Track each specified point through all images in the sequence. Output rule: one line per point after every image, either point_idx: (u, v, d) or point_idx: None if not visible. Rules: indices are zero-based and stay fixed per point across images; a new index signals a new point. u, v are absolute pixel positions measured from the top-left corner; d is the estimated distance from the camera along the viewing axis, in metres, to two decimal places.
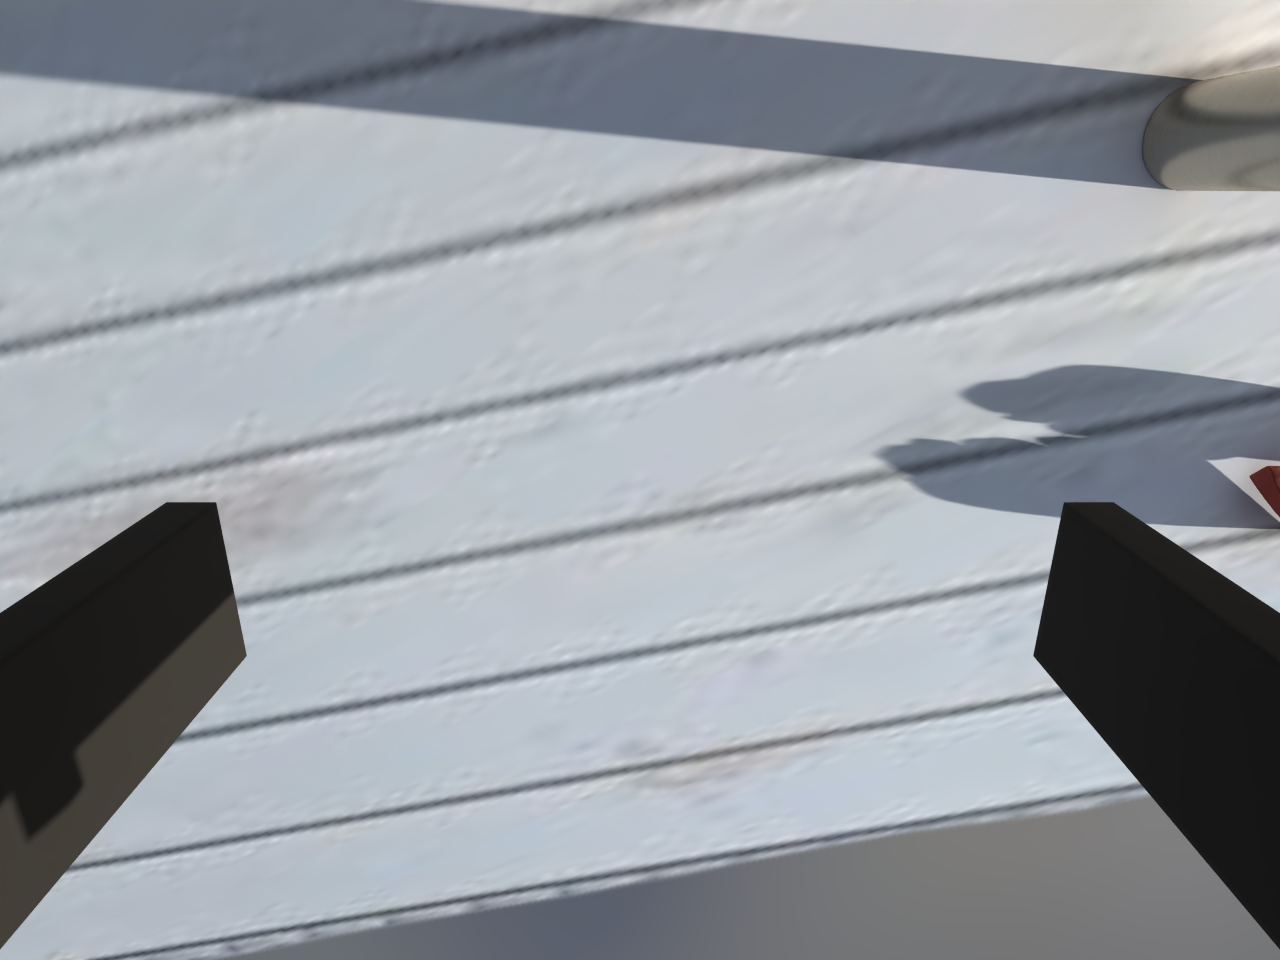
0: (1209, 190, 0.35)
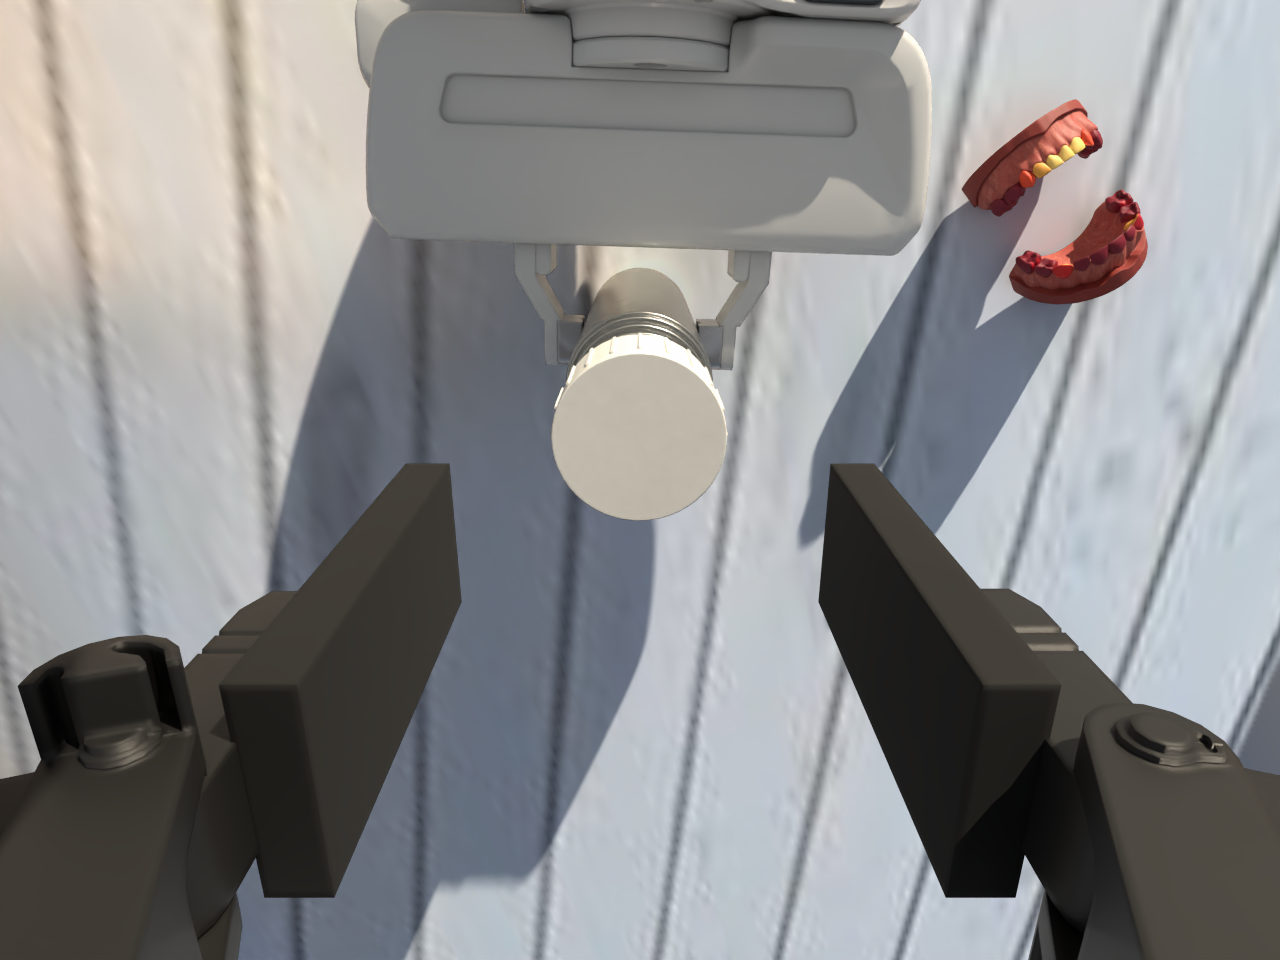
0: None
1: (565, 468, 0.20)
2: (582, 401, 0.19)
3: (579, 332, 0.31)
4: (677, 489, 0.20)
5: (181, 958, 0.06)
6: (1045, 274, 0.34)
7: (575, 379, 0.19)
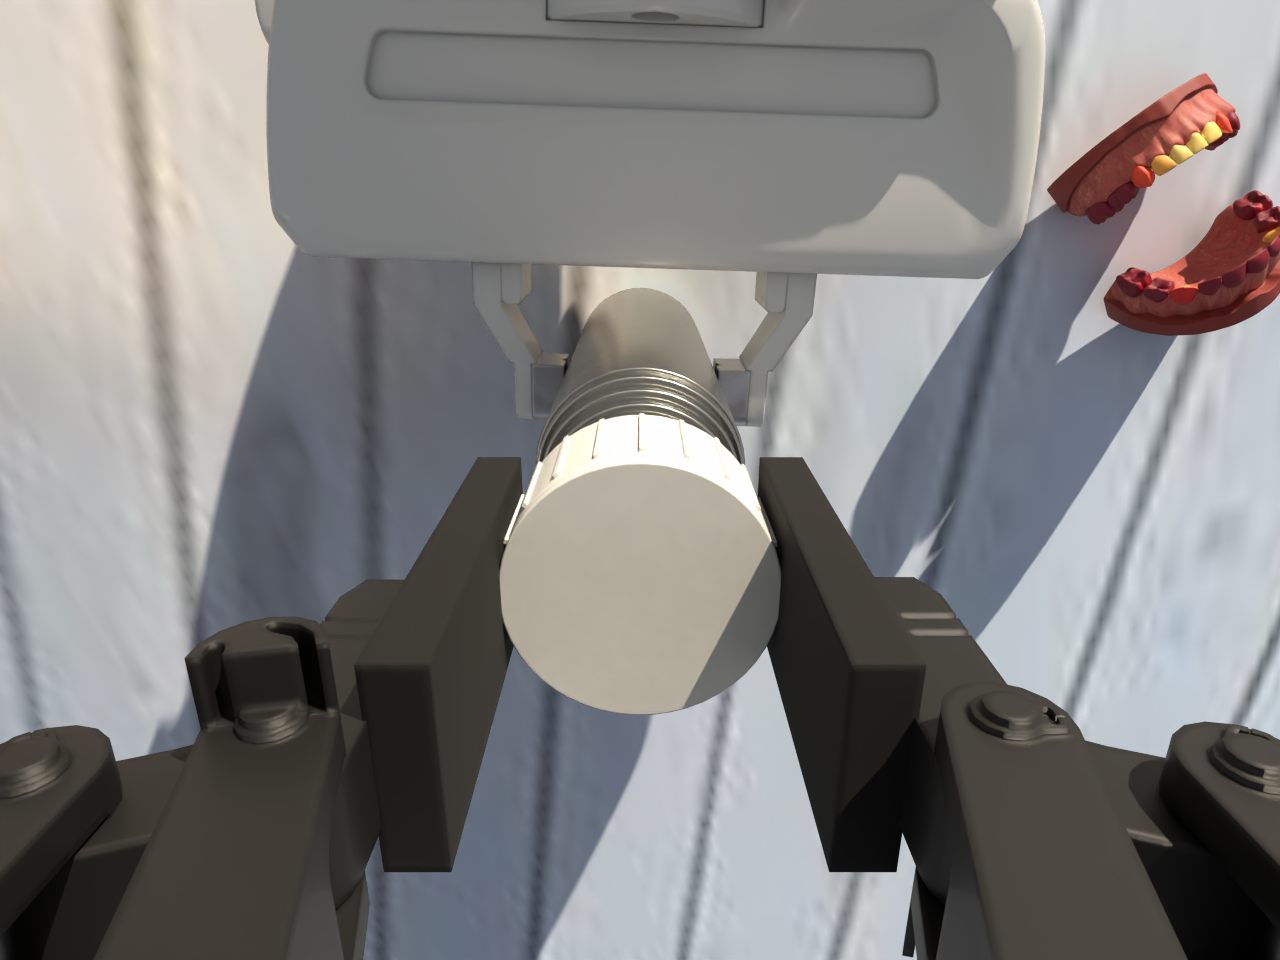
0: None
1: (521, 639, 0.12)
2: (547, 537, 0.12)
3: (560, 379, 0.23)
4: (701, 670, 0.12)
5: (324, 933, 0.06)
6: (1158, 298, 0.27)
7: (535, 503, 0.12)
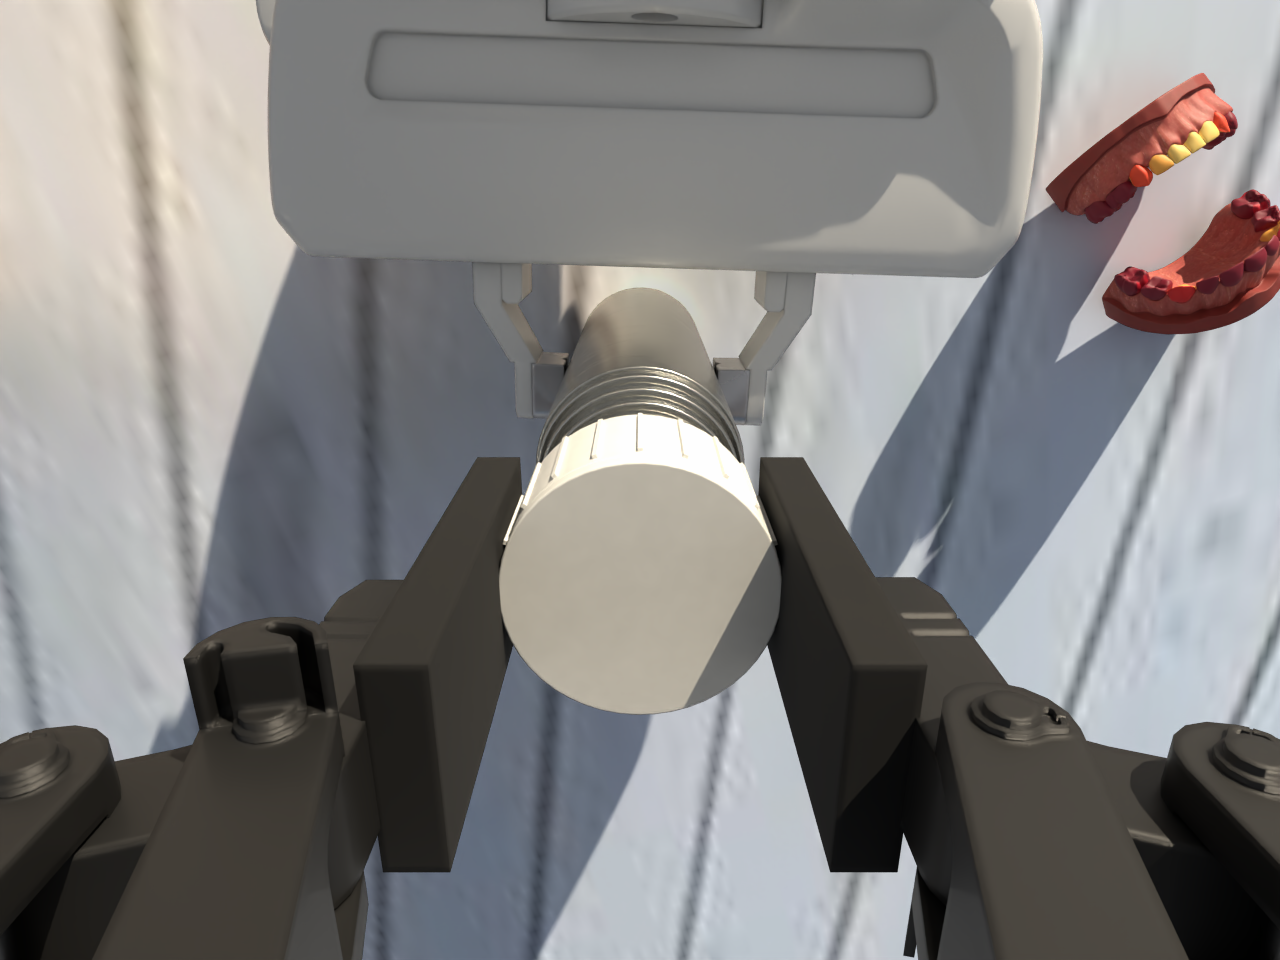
0: None
1: (687, 698, 0.13)
2: (578, 673, 0.13)
3: (560, 378, 0.23)
4: (726, 538, 0.12)
5: (323, 934, 0.06)
6: (1156, 297, 0.27)
7: (546, 680, 0.13)
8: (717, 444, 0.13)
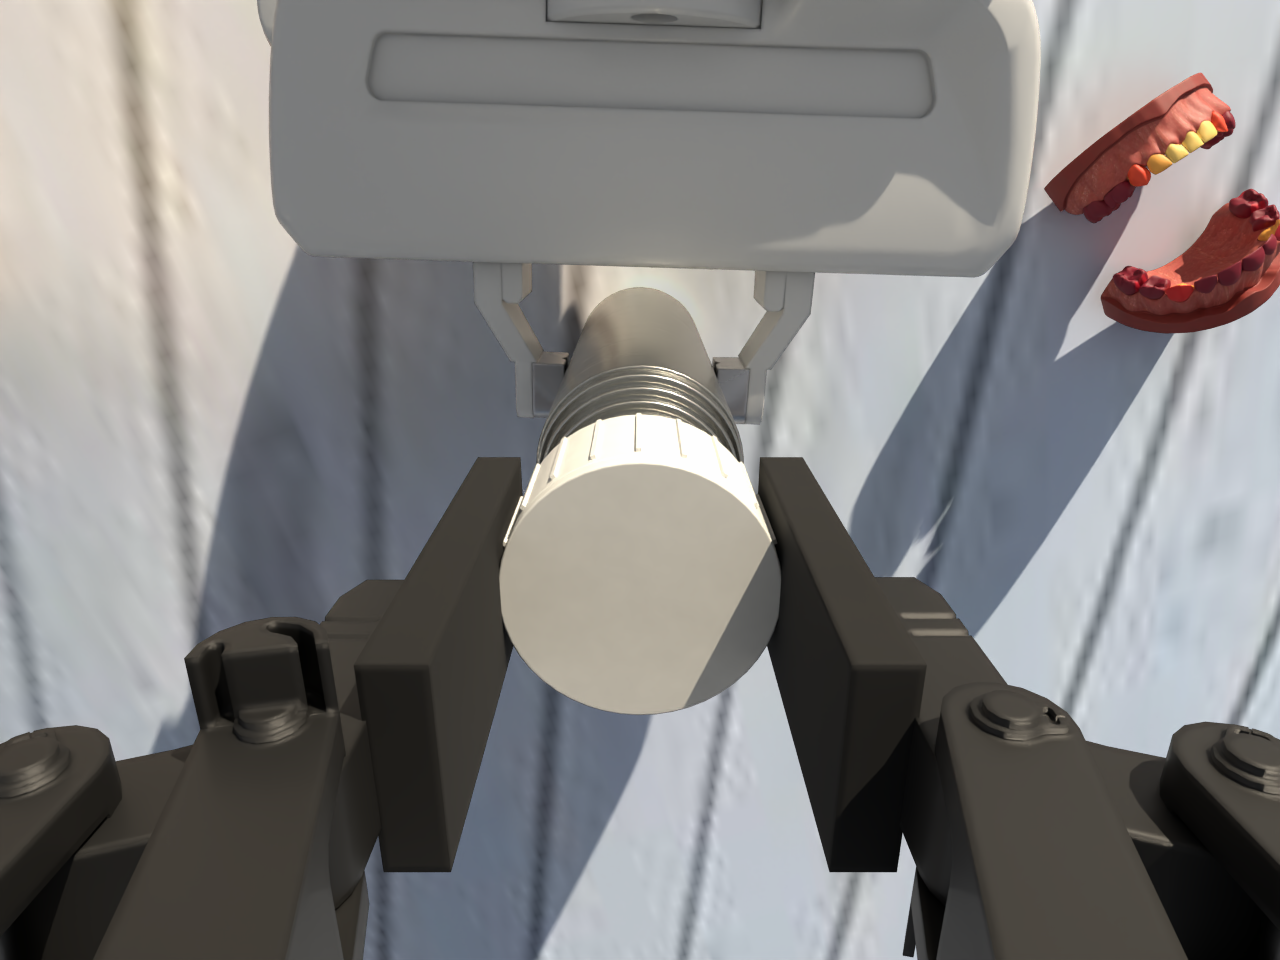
0: None
1: (762, 551, 0.12)
2: (728, 650, 0.12)
3: (560, 377, 0.23)
4: (572, 520, 0.12)
5: (324, 933, 0.06)
6: (1154, 296, 0.27)
7: (738, 677, 0.13)
8: (532, 475, 0.13)
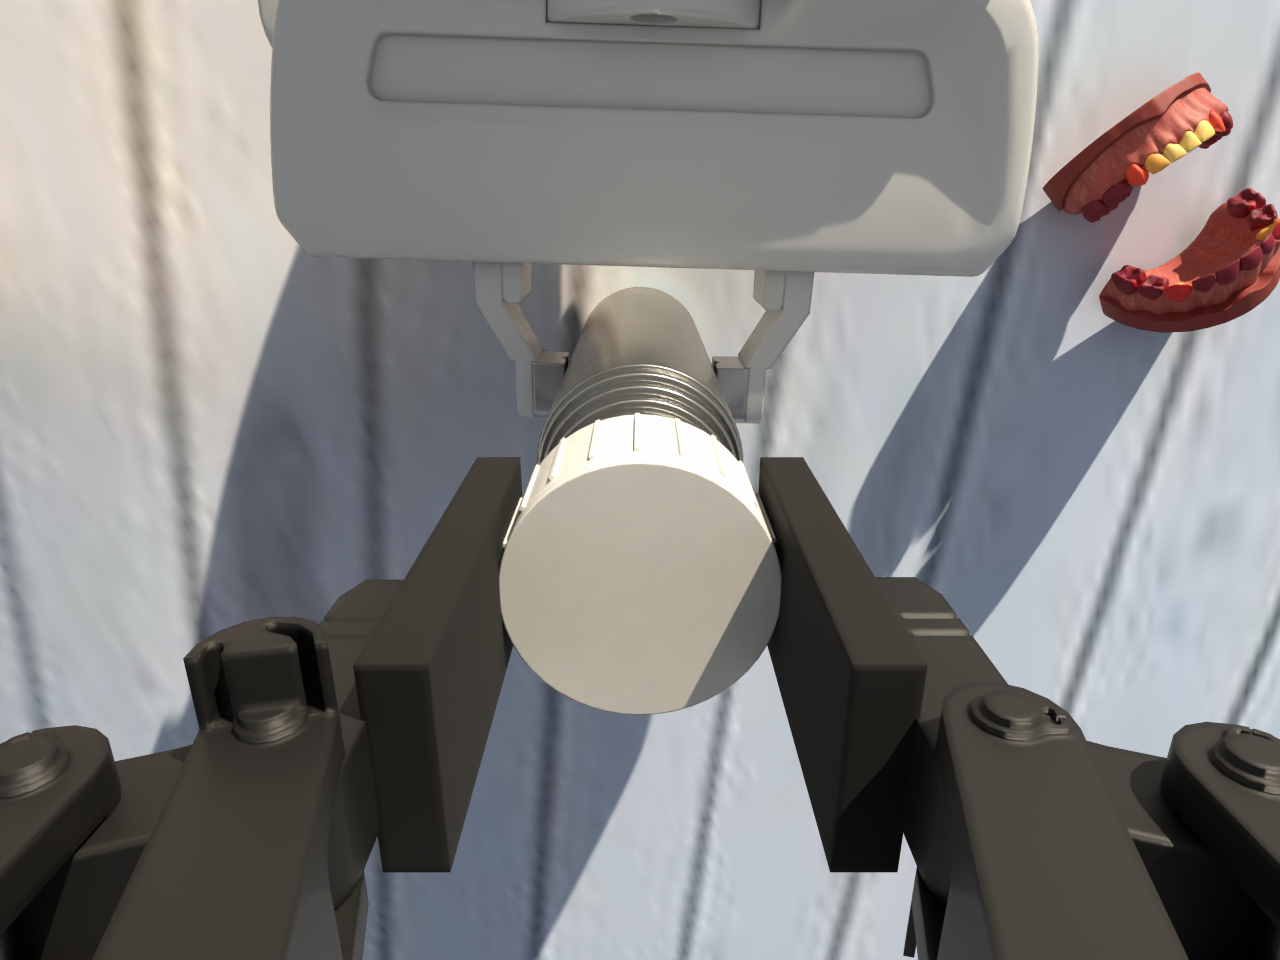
0: None
1: (585, 485, 0.11)
2: (704, 511, 0.12)
3: (561, 377, 0.24)
4: (559, 654, 0.12)
5: (323, 934, 0.06)
6: (1152, 295, 0.27)
7: (740, 499, 0.12)
8: None
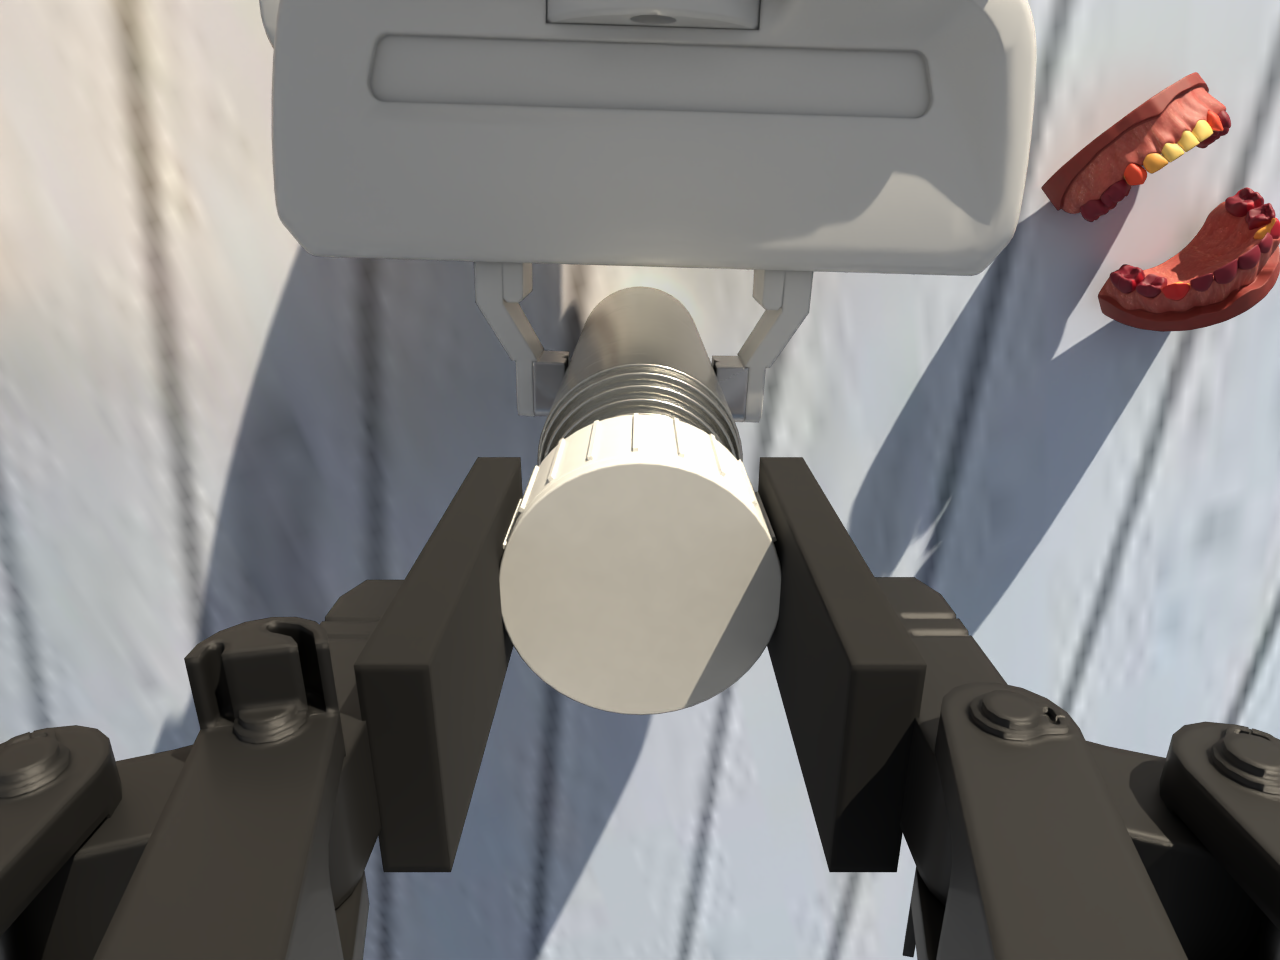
0: None
1: (524, 643, 0.12)
2: (545, 541, 0.12)
3: (561, 376, 0.24)
4: (705, 667, 0.12)
5: (324, 934, 0.06)
6: (1151, 294, 0.27)
7: (531, 507, 0.12)
8: None
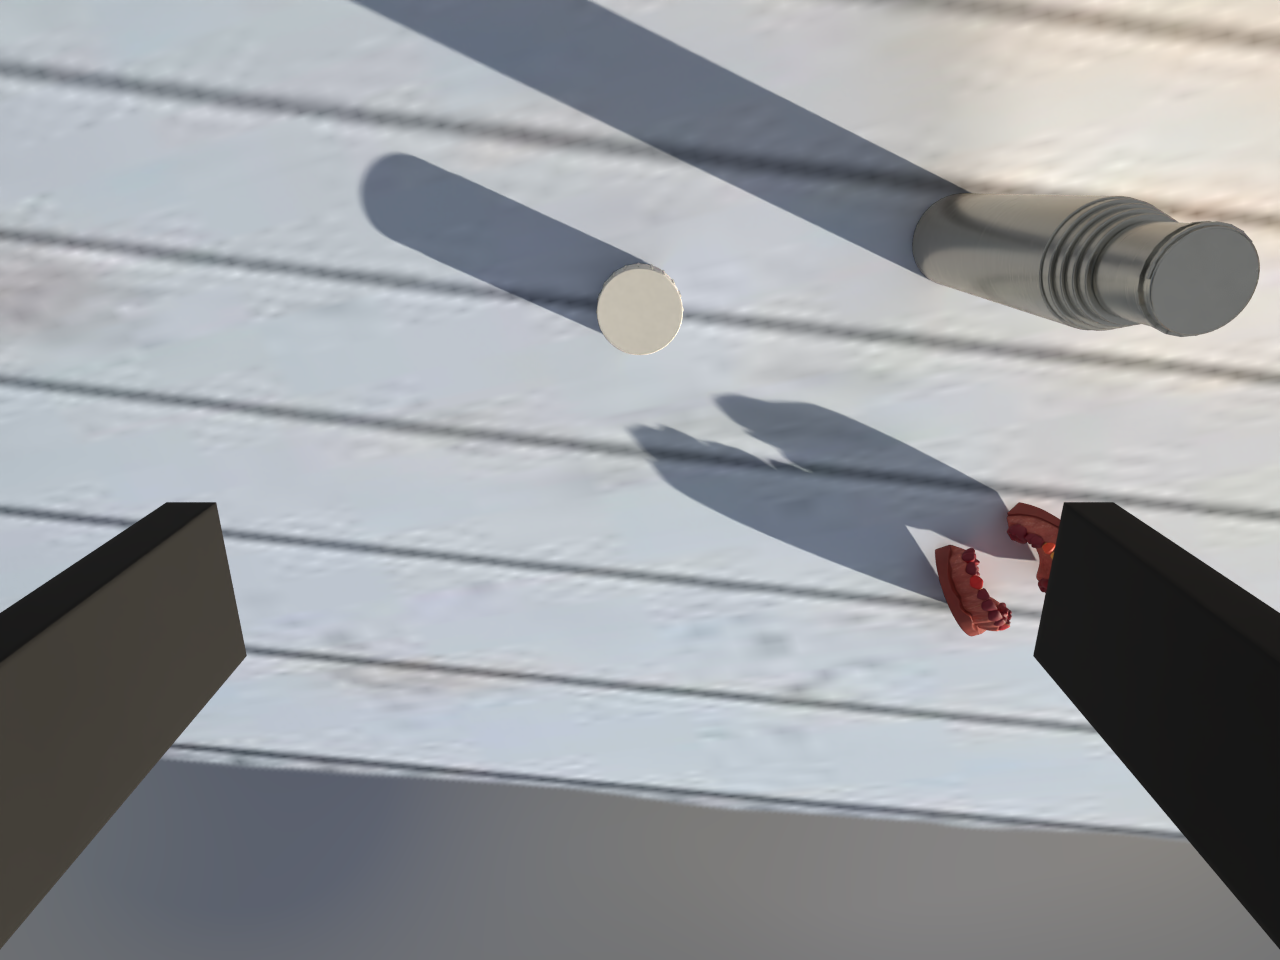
0: (948, 286, 0.40)
1: (604, 328, 0.40)
2: (611, 293, 0.40)
3: None
4: (659, 337, 0.40)
5: None
6: (969, 570, 0.44)
7: (607, 283, 0.39)
8: None
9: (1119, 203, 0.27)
